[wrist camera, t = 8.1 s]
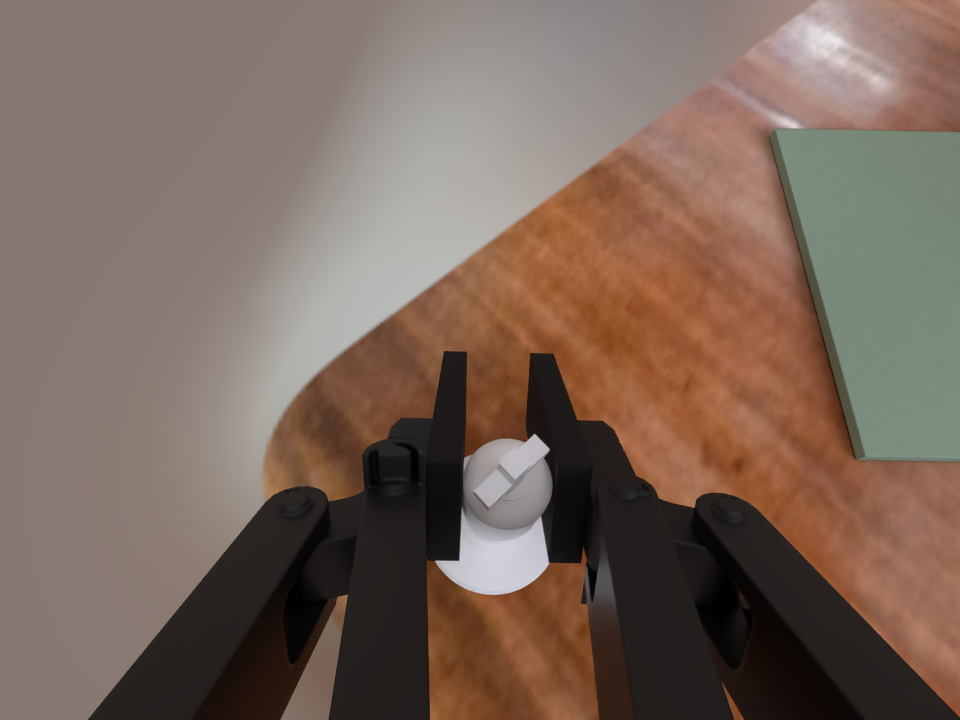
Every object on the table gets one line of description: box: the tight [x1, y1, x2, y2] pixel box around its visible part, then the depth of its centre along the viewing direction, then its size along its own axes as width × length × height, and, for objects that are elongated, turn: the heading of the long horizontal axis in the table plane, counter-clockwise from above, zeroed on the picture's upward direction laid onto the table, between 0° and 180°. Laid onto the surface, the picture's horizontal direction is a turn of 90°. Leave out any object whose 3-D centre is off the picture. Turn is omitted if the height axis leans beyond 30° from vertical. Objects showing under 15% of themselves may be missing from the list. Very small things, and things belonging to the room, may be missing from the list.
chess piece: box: [435, 434, 553, 595], centre depth 14 cm, size 5×5×10 cm
